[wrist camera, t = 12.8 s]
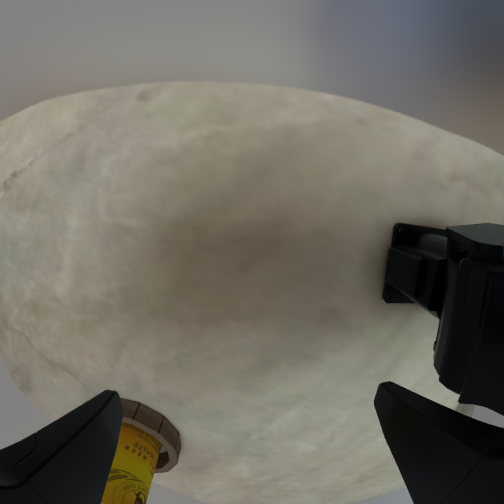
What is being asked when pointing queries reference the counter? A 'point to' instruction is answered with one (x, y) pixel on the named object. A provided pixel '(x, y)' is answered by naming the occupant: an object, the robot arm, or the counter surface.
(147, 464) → the beer can
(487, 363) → the robot arm
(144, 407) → the collar
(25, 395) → the counter surface
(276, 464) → the counter surface
